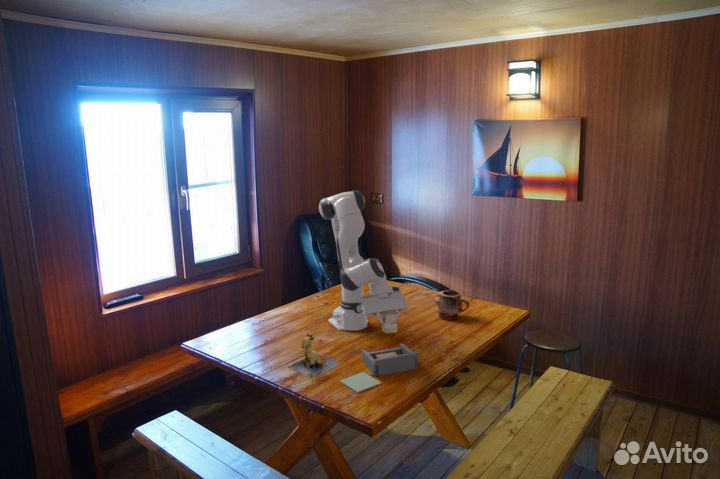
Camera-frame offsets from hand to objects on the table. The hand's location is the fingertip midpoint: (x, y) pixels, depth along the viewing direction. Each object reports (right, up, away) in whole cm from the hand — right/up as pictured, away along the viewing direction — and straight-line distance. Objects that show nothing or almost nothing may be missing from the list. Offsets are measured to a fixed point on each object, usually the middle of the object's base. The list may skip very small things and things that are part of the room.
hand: (390, 321), depth 225 cm
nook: (0, -19, +5) cm, 20 cm away
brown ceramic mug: (+36, -7, +57) cm, 68 cm away
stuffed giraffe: (-32, -20, +5) cm, 38 cm away
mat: (-13, -23, -11) cm, 28 cm away
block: (0, -4, +1) cm, 4 cm away
